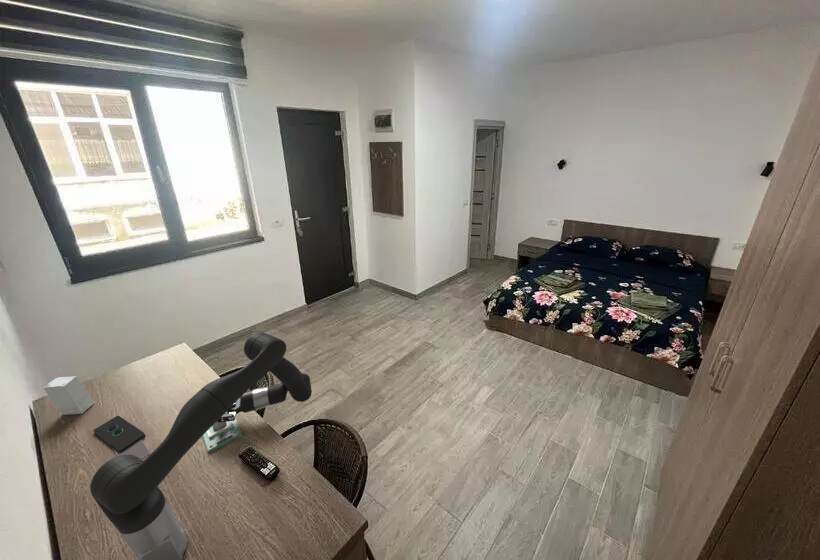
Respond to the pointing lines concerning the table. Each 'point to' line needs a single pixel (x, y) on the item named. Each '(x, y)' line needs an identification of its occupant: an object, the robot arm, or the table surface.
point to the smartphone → (135, 450)
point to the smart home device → (119, 433)
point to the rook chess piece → (219, 425)
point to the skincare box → (69, 395)
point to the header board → (222, 435)
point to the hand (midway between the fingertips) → (205, 412)
